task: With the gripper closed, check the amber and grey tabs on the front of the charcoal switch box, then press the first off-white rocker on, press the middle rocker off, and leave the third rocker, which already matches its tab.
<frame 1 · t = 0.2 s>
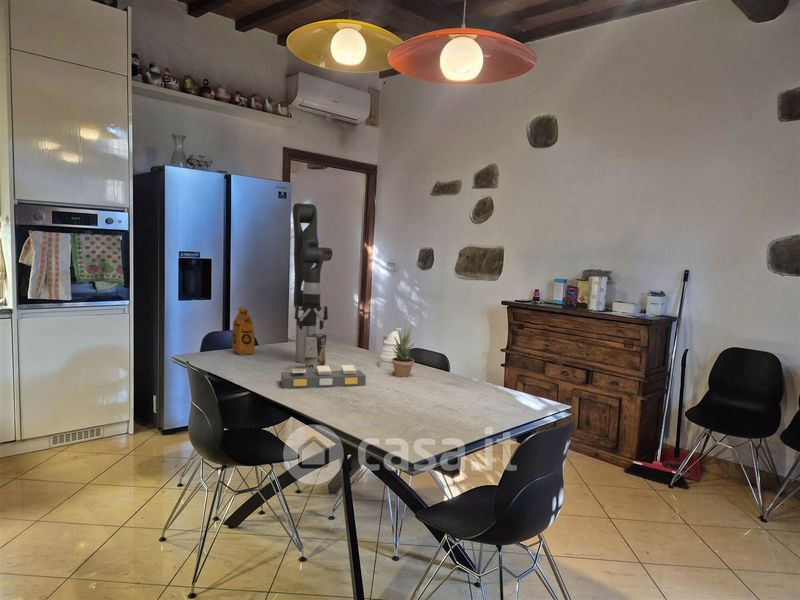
hand: (310, 329, 248), 17 cm above the table, tool pointing down, fingers open, 8 cm apart
switch a: (298, 370, 220), point 6 cm above the table, hinge at -10.0°
switch b: (323, 370, 223), point 6 cm above the table, hinge at 10.0°
coffee box: (315, 372, 243), on the table
potted plant: (402, 376, 243), on the table
switch box: (323, 383, 224), on the table
switch c: (348, 369, 226), point 6 cm above the table, hinge at 10.0°
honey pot: (392, 367, 260), on the table
coffee package: (243, 353, 276), on the table
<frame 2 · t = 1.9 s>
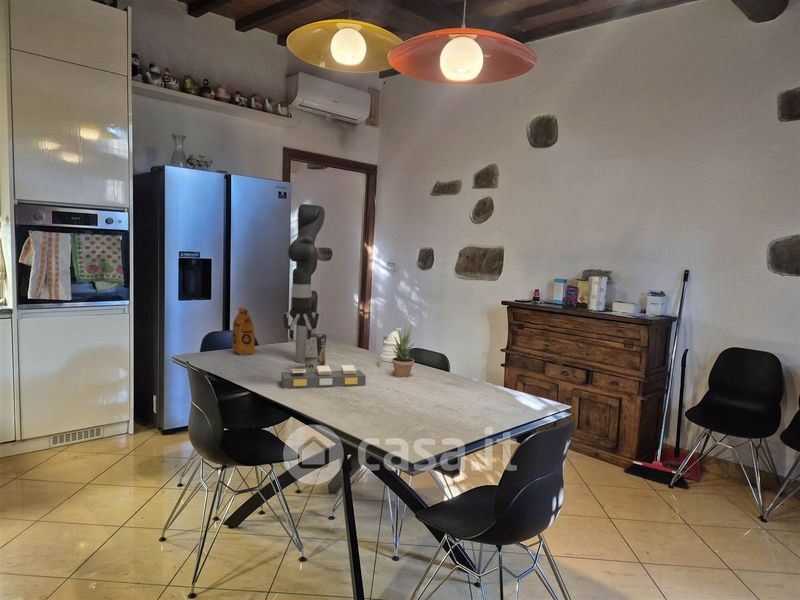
hand: (300, 339, 216), 19 cm above the table, tool pointing down, fingers open, 5 cm apart
nothing on the table moved.
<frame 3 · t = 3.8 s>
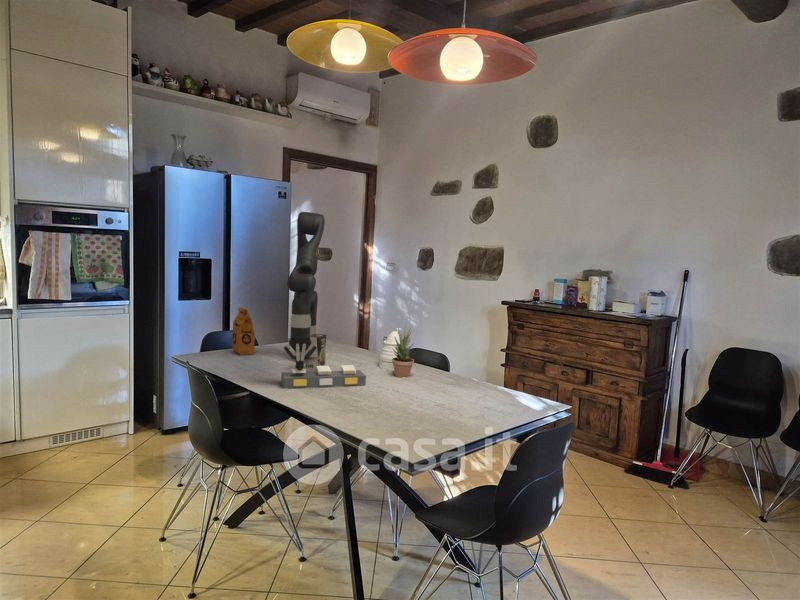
hand: (299, 370, 217), 7 cm above the table, tool pointing down, fingers closed
switch a: (298, 370, 220), point 6 cm above the table, hinge at -9.4°, touching gripper
everything else where it was.
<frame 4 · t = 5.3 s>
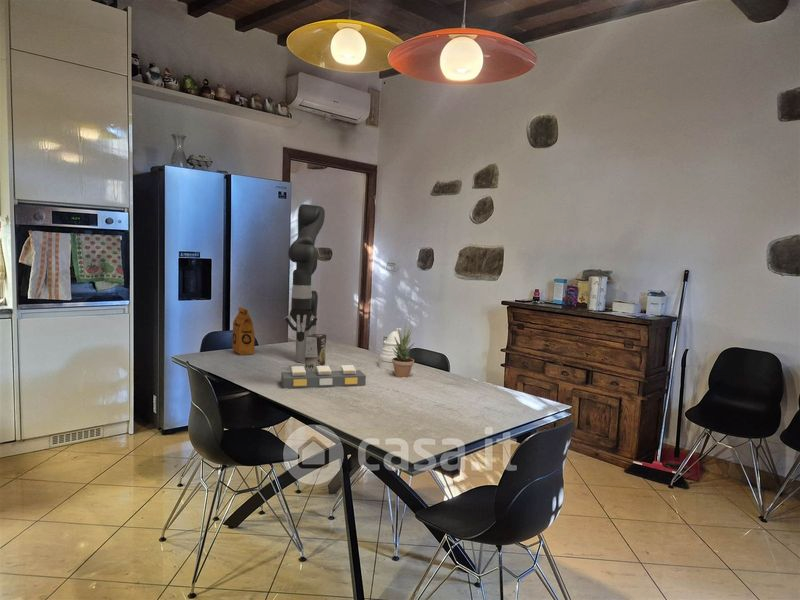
hand: (300, 341, 217), 18 cm above the table, tool pointing down, fingers closed
switch a: (298, 370, 220), point 6 cm above the table, hinge at 11.7°
everything else where it was.
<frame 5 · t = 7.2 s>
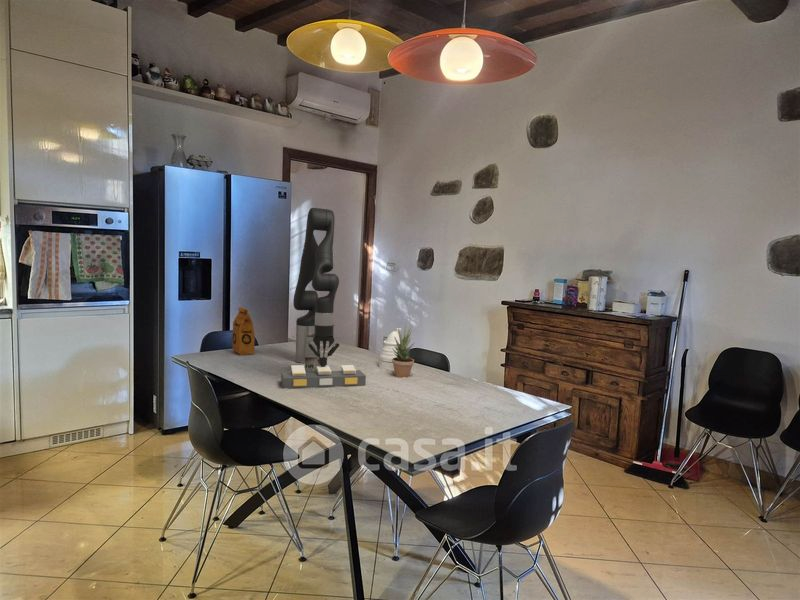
hand: (322, 366, 225), 7 cm above the table, tool pointing down, fingers closed
switch a: (298, 370, 220), point 6 cm above the table, hinge at 19.6°
switch b: (323, 370, 223), point 6 cm above the table, hinge at 10.0°, touching gripper
everything else where it was.
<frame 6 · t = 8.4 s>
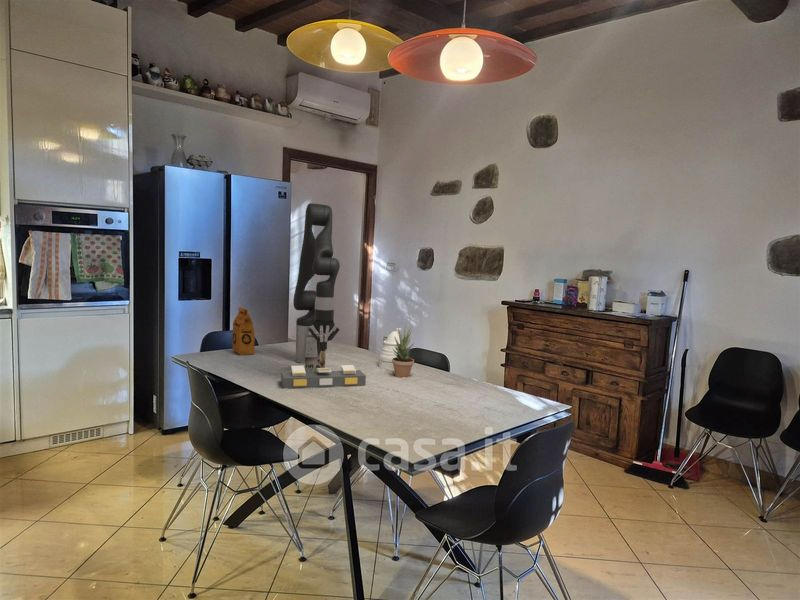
hand: (322, 350, 225), 13 cm above the table, tool pointing down, fingers closed
switch a: (298, 370, 220), point 6 cm above the table, hinge at 16.6°
switch b: (323, 369, 223), point 6 cm above the table, hinge at -8.7°
everything else where it was.
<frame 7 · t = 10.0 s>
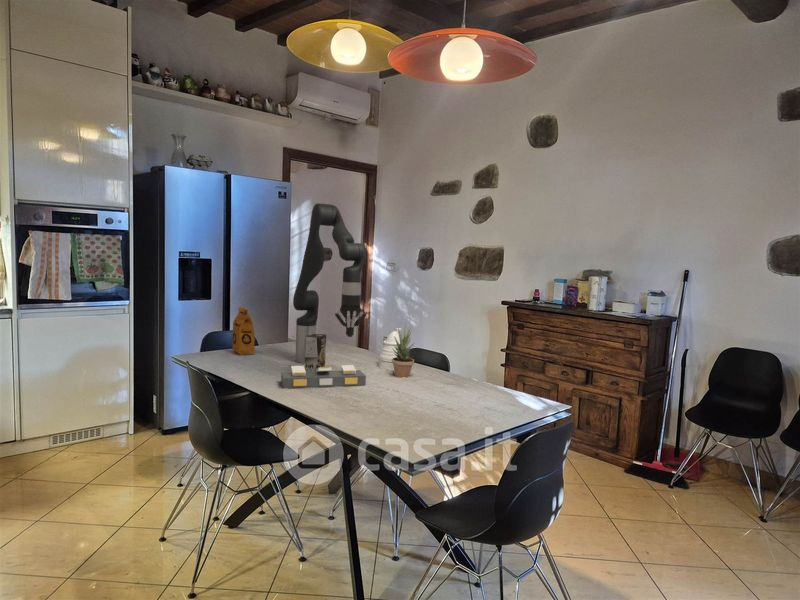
hand: (349, 336, 225), 19 cm above the table, tool pointing down, fingers closed
switch a: (298, 370, 220), point 6 cm above the table, hinge at 14.4°
switch b: (323, 369, 223), point 6 cm above the table, hinge at -21.3°, touching switch box
everything else where it was.
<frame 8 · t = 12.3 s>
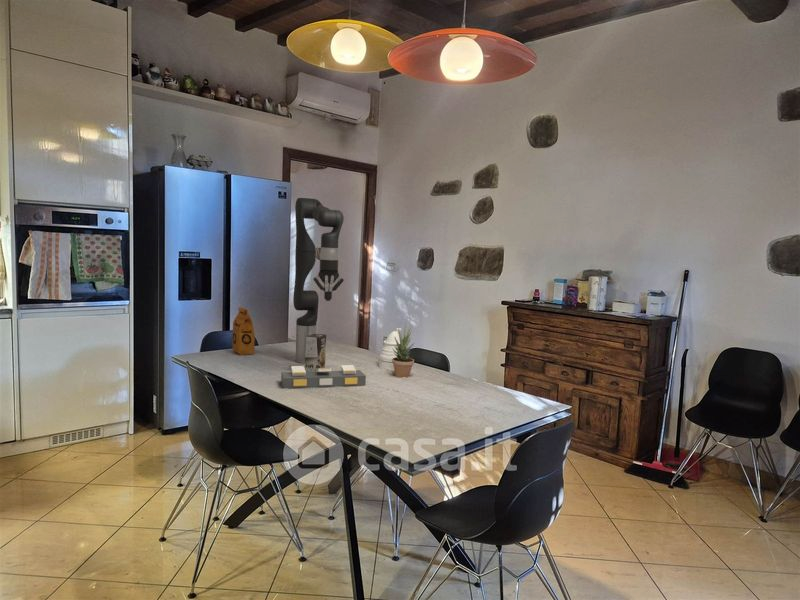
hand: (327, 300, 233), 32 cm above the table, tool pointing down, fingers closed
switch a: (298, 370, 220), point 6 cm above the table, hinge at 13.0°
switch b: (323, 369, 223), point 6 cm above the table, hinge at -15.0°
everything else where it was.
at the end: switch a at +13° (first picture: -10°); switch b at -15° (first picture: +10°); switch c at +10° (first picture: +10°) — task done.
